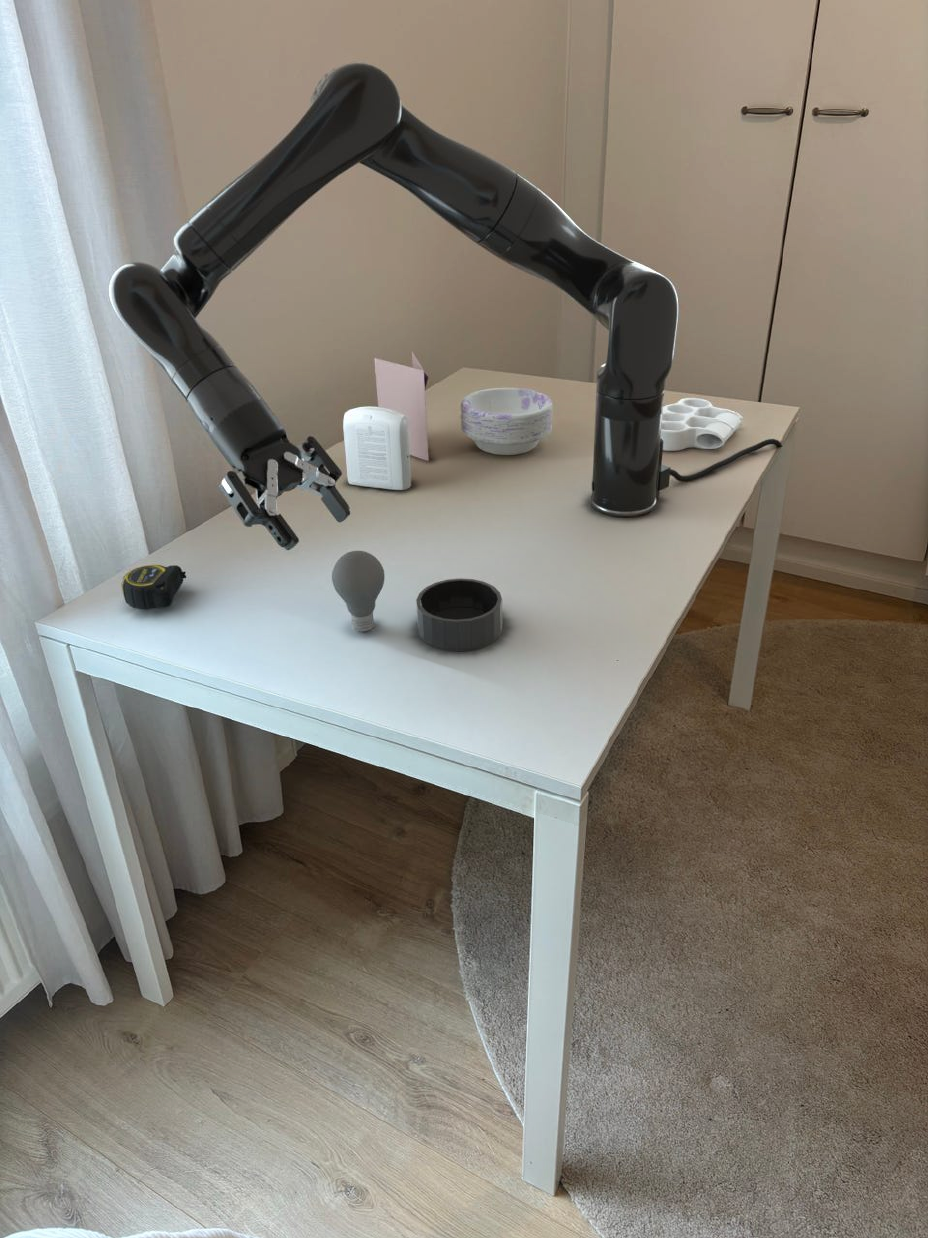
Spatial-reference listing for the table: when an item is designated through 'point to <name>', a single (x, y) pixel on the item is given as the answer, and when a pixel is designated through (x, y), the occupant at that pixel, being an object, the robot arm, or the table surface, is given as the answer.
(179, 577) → the tape measure
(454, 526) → the table surface
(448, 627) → the dark gray bowl
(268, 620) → the table surface
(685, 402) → the white multi-hole holder
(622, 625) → the table surface
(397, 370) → the greeting card
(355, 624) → the light bulb
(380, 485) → the white upright block
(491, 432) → the paper bowls
